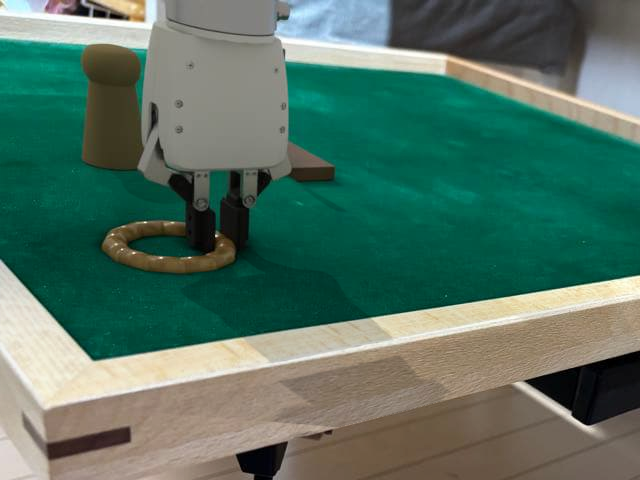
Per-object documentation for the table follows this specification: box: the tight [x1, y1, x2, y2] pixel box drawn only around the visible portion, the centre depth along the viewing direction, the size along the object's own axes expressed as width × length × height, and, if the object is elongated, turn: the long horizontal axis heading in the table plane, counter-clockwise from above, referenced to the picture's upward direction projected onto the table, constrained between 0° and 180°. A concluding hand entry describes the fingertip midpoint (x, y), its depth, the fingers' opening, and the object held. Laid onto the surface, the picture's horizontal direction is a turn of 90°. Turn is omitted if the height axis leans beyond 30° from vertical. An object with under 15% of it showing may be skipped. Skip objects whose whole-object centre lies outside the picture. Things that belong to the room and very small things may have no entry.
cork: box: [80, 43, 144, 171], centre depth 86 cm, size 6×6×11 cm
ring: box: [101, 219, 237, 274], centre depth 69 cm, size 10×10×2 cm
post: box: [282, 47, 336, 182], centre depth 93 cm, size 10×10×12 cm
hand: (217, 249), depth 72 cm, fingers closed on ring, 2 cm apart
